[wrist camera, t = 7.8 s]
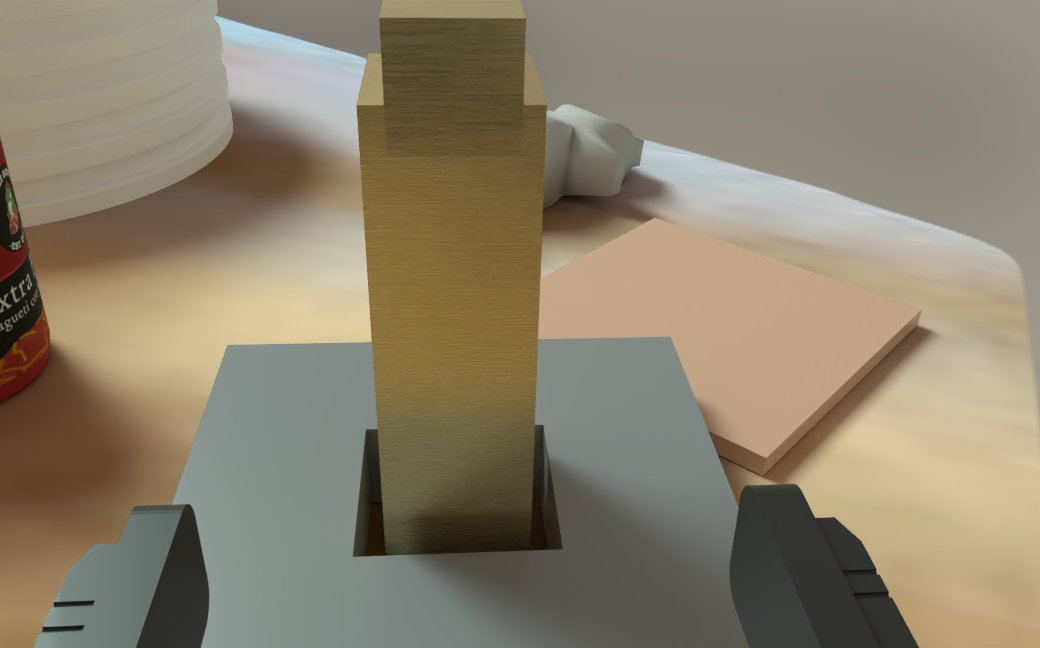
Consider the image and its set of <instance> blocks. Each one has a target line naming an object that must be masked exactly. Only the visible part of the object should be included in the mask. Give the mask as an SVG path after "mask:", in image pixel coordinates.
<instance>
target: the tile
mask: <svg viewBox="0 0 1040 648" xmlns="http://www.w3.org/2000/svg"><path fill="white" fill-rule="evenodd" d="M921 310H922V309H919V308H916V307H913V306H910V305H907V304H904V303H901V302H898V301H895V300H893V299H890V298H887V297H884V296H881V295H878V294H875V293H872V292H869V291H866V290H863V289H861V288H858V287H855V286H852V285H849V284H846V283H843V282H840V281H837V280H834V279H831V278H828V277H826V276H823V275H820V274H817V273H814V272H811V271H808V270H805V269H802V268H799V267H796V266H794V265H791V264H788V263H785V262H782V261H779V260H776V259H773V258H770V257H767V256H764V255H762V254H759V253H756V252H753V251H750V250H747V249H744V248H741V247H738V246H735V245H732V244H730V243H727V242H724V241H721V240H718V239H715V238H712V237H709V236H706V235H703V234H700V233H698V232H695V231H692V230H689V229H686V228H683V227H680V226H677V225H674V224H671V223H668V222H666V221H663V220H660V219H657V218H653V219H652V220H650V221H648V222H646V223H644V224H642V225H640V226H638V227H637V228H635V229H633V230H631V231H629V232H627V233H625V234H623V235H622V236H620V237H618V238H616V239H614V240H612V241H610V242H609V243H607V244H605V245H603V246H601V247H599V248H597V249H595V250H594V251H592V252H590V253H588V254H586V255H584V256H582V257H581V258H579V259H577V260H575V261H573V262H571V263H569V264H567V265H566V266H564V267H562V268H560V269H558V270H556V271H554V272H552V273H551V274H549V275H547V276H545V277H543V278H541V279H540V302H539V328H538V339H573V338H625V337H671V339H672V341H673V344H674V346H675V349H676V351H677V354H678V356H679V359H680V361H681V364H682V366H683V369H684V371H685V374H686V376H687V379H688V381H689V384H690V386H691V389H692V391H693V394H694V397H695V399H696V402H697V404H698V407H699V409H700V412H701V414H702V417H703V419H704V422H705V424H706V427H707V429H708V432H709V434H710V437H711V439H712V442H713V444H714V447H715V449H716V452H717V454H718V455H720V456H722V457H724V458H726V459H728V460H730V461H732V462H734V463H737V464H739V465H741V466H743V467H745V468H747V469H749V470H751V471H753V472H755V473H757V474H759V475H761V476H763V475H764V474H765V473H766V472H767V471H769V470H770V469H771V468H772V467H773V466H774V465H775V464H776V463H777V462H778V461H779V460H780V459H781V458H782V457H783V456H784V455H785V454H786V453H787V452H788V451H789V450H790V449H791V448H792V447H793V446H794V445H795V444H796V443H797V442H798V441H799V440H800V439H801V438H802V437H803V436H804V435H805V434H806V433H807V432H809V431H810V430H811V429H812V428H813V427H814V426H815V425H816V424H817V423H818V422H819V421H820V420H821V419H822V418H823V417H824V416H825V415H826V414H827V413H828V412H829V411H830V410H831V409H832V408H833V407H834V406H835V405H836V404H837V403H838V402H839V401H840V400H841V399H842V398H843V397H844V396H845V395H846V394H847V393H848V392H850V391H851V390H852V389H853V388H854V387H855V386H856V385H857V384H858V383H859V382H860V381H861V380H862V379H863V378H864V377H865V376H866V375H867V374H868V373H869V372H870V371H871V370H872V369H873V368H874V367H875V366H876V365H877V364H878V363H879V362H880V361H881V360H882V359H883V358H884V357H885V356H886V355H887V354H888V353H890V352H891V351H892V350H893V349H894V348H895V347H896V346H897V345H898V344H899V343H900V342H901V341H902V340H903V339H904V338H905V337H906V336H907V335H908V334H909V333H910V332H911V331H912V330H913V329H914V328H915V327H916V326H917V325H918V321H919V318H920V314H921Z"/></svg>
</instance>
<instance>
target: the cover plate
mask: <svg viewBox="0 0 1040 648" xmlns="http://www.w3.org/2000/svg"><path fill="white" fill-rule="evenodd" d="M535 497H540V499H541V506H542V513H543V521H544V528H545V535H546V542H547V550H532V551H504V552H476V553H448V554H419V555H391V556H367V544H368V533H369V521H370V510H371V503H376V502H382V490H381V474H380V459H379V443H378V428H377V412H376V397H375V381H374V366H373V351H372V342H366V343H314V344H262V345H227V348H226V351H225V354H224V357H223V359H222V362H221V365H220V368H219V371H218V374H217V377H216V379H215V382H214V385H213V388H212V391H211V394H210V397H209V399H208V402H207V405H206V408H205V411H204V414H203V417H202V419H201V422H200V425H199V428H198V431H197V434H196V437H195V439H194V442H193V445H192V448H191V451H190V454H189V457H188V459H187V462H186V465H185V468H184V471H183V474H182V476H181V479H180V482H179V485H178V488H177V491H176V494H175V496H174V499H173V502H172V505H175V504H190V505H191V506H192V508H193V510H194V513H195V517H196V522H197V527H198V532H199V537H200V542H201V547H202V552H203V557H204V562H205V567H206V572H207V577H208V583H209V613H208V621H207V626H206V630H205V634H204V637H203V641H202V645H201V648H749V646H748V643H747V640H746V637H745V635H744V632H743V629H742V626H741V623H740V620H739V617H738V615H737V612H736V609H735V606H734V603H733V599H732V594H731V587H730V575H729V568H730V558H731V552H732V546H733V540H734V534H735V528H736V522H737V516H738V510H739V507H738V505H737V502H736V500H735V497H734V495H733V492H732V490H731V487H730V485H729V482H728V480H727V477H726V474H725V472H724V469H723V467H722V464H721V462H720V459H719V457H718V454H717V452H716V449H715V447H714V444H713V442H712V439H711V437H710V434H709V432H708V429H707V427H706V424H705V422H704V419H703V417H702V414H701V412H700V409H699V407H698V404H697V402H696V399H695V397H694V394H693V391H692V389H691V386H690V384H689V381H688V379H687V376H686V374H685V371H684V369H683V366H682V364H681V361H680V359H679V356H678V354H677V351H676V349H675V346H674V344H673V341H672V339H671V337H625V338H573V339H538V355H537V382H536V408H535V435H534V461H533V488H532V498H535Z"/></svg>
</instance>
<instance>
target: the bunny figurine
mask: <svg viewBox="0 0 1040 648" xmlns="http://www.w3.org/2000/svg"><path fill="white" fill-rule="evenodd" d="M643 143H644V140H642V139H639V138H637V137H634V136H633V134H632V133H631V131H630V130H629V129H627V128H625V127H624V126H622V125H620V124H617V123H615V122H613V121H610V120H608V119H605V118H603V117H600V116H597V115H595V114H593V113H590V112H588V111H585V110H583V109H580V108H578V107H575V106H573V105H561V106H560V107H559V108H558V109H557V110H556V111H554V112H552V111H547V116H546V142H545V169H544V196H543V209H544V208H547V207H550V206H552V205H553V204H554V203H555V202H556V201H557V200H559V199H560V198H561V197H562V196H566V195H589V196H612V195H614V194H617V193H619V192H620V190H621V184H622V181H623V179H624V178H625V176H626V175H627V174H628V172H629V171H630V169H631V168H632V167H634V166H639V165H640V160H641V154H642V148H643Z"/></svg>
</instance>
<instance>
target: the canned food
mask: <svg viewBox="0 0 1040 648" xmlns="http://www.w3.org/2000/svg"><path fill="white" fill-rule="evenodd" d="M49 344H50V330H49V326H48V322H47V319H46V315H45V311H44V307H43V303H42V299H41V295H40V291H39V287H38V283H37V279H36V275H35V272H34V268H33V264H32V260H31V256H30V252H29V248H28V244H27V240H26V236H25V232H24V229H23V225H22V221H21V217H20V213H19V209H18V205H17V201H16V197H15V193H14V189H13V185H12V182H11V178H10V174H9V170H8V166H7V162H6V158H5V154H4V150H3V146H2V142H1V139H0V402H2V401H4V400H6V399H8V398H9V397H11V396H13V395H14V394H16V393H17V392H19V391H21V390H22V389H24V388H25V387H26V386H27V385H28V384H29V383H31V382H32V381H33V380H34V379H35V378H36V377H37V376H38V375H39V374H40V372H41V371H42V370H43V369H44V367H45V364H46V362H47V360H48V354H49Z"/></svg>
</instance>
